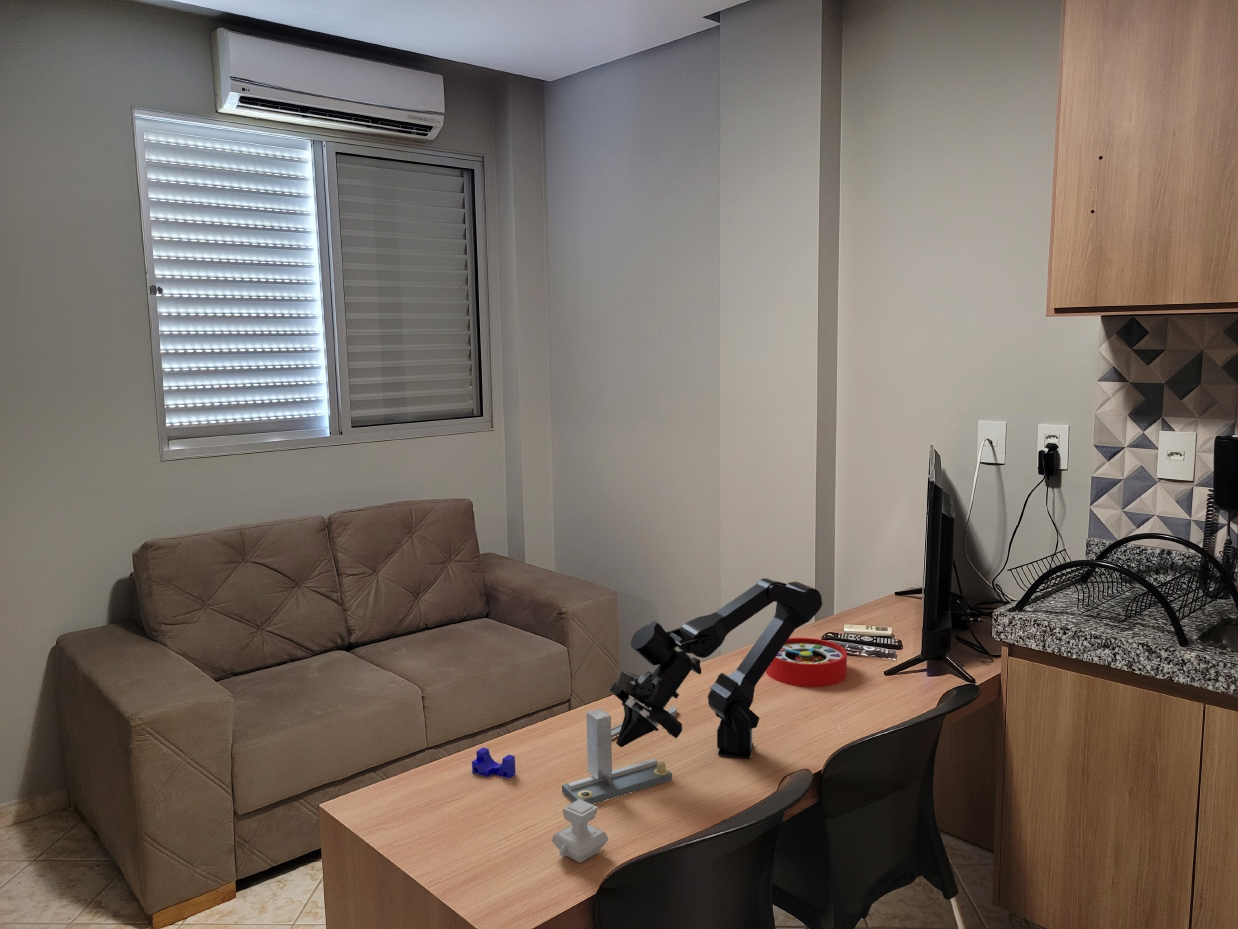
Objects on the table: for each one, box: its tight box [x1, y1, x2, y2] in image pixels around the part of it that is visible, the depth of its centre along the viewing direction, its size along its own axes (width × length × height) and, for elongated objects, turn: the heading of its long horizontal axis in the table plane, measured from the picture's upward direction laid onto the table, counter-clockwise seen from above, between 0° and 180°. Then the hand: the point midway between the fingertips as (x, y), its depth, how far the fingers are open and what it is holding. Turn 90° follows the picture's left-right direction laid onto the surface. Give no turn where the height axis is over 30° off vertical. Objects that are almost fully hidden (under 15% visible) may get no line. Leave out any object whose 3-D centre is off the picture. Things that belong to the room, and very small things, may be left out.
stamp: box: [551, 799, 609, 864], centre depth 146 cm, size 9×7×8 cm
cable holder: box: [471, 747, 517, 779], centre depth 175 cm, size 8×4×4 cm, turn 59°
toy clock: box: [765, 637, 848, 688], centre depth 225 cm, size 20×6×20 cm
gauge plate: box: [561, 757, 673, 805], centre depth 169 cm, size 20×7×3 cm, turn 120°
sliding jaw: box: [586, 708, 613, 786], centre depth 167 cm, size 3×6×13 cm, turn 30°
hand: (618, 745), depth 170 cm, fingers closed
